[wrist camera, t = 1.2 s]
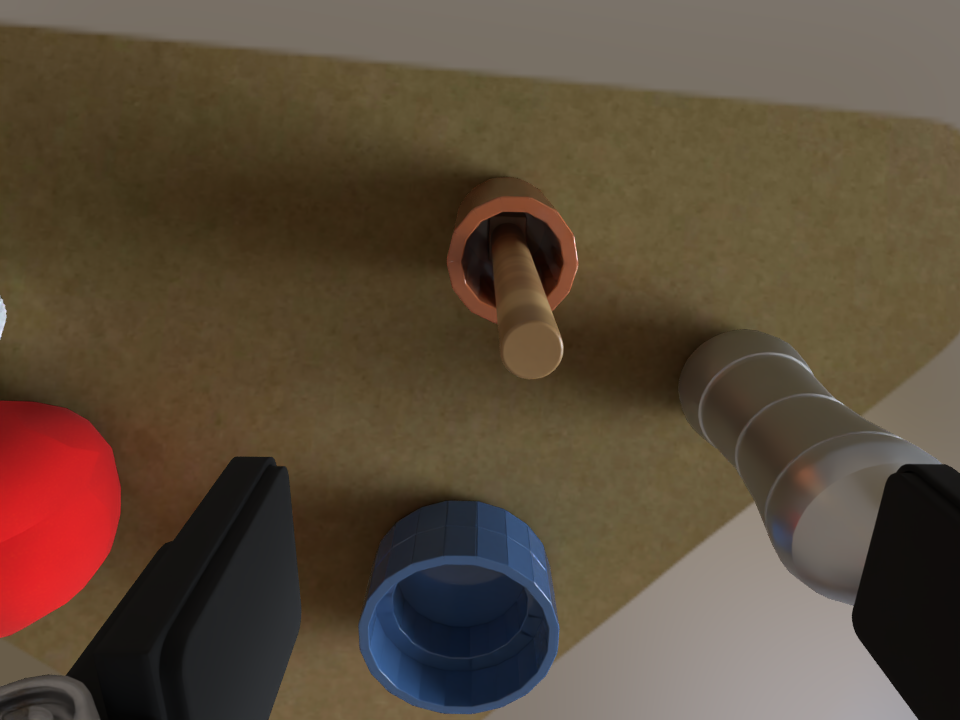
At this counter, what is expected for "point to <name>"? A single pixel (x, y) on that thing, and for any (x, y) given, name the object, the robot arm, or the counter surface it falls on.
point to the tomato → (51, 509)
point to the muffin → (2, 315)
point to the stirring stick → (521, 301)
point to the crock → (543, 237)
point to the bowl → (459, 609)
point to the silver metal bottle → (795, 453)
